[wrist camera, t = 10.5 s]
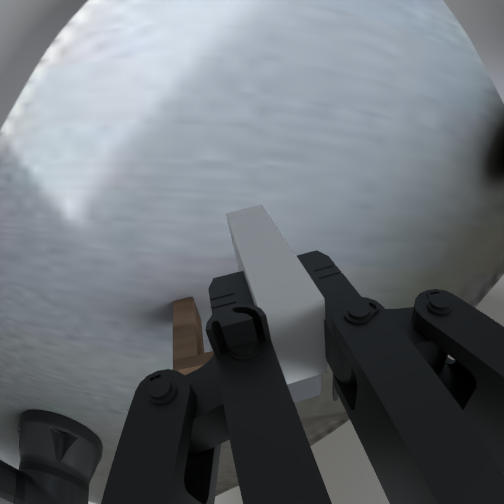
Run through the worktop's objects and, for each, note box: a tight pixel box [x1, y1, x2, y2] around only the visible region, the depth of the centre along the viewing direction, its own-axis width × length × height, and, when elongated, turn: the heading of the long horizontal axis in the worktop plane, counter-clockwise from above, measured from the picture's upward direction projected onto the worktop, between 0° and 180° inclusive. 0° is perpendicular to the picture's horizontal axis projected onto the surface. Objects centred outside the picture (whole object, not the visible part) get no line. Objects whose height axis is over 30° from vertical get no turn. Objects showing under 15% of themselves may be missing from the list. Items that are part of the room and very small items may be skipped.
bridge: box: [173, 297, 214, 375], centre depth 28 cm, size 3×14×9 cm, turn 100°
